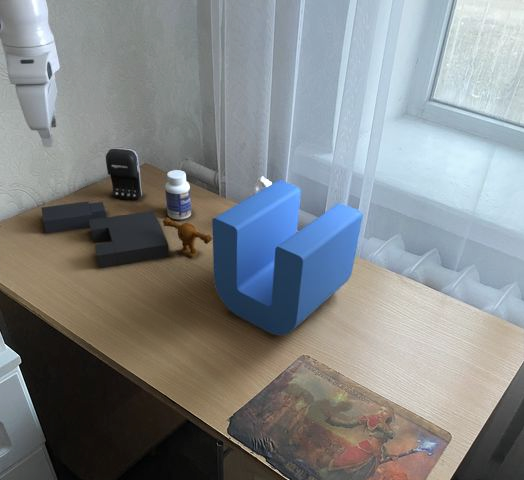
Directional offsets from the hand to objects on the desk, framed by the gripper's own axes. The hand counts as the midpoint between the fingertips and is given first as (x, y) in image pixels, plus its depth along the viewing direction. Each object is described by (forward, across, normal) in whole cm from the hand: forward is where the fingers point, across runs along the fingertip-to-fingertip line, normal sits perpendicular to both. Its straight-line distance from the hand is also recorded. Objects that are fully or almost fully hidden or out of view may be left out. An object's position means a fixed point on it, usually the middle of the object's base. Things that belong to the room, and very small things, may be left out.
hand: (50, 135), depth 106 cm
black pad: (+19, +12, +12) cm, 25 cm away
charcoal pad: (+19, +1, +1) cm, 19 cm away
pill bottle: (+19, +1, +24) cm, 31 cm away
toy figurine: (+19, +17, +24) cm, 35 cm away
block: (+19, +35, +40) cm, 57 cm away
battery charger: (+19, -8, +12) cm, 24 cm away
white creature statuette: (+19, +10, +40) cm, 46 cm away
